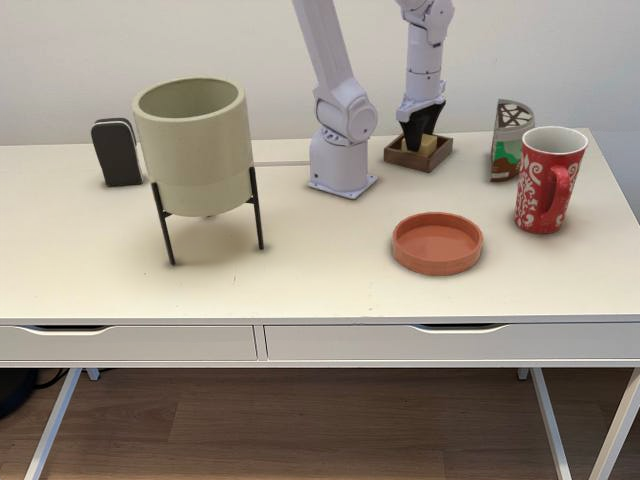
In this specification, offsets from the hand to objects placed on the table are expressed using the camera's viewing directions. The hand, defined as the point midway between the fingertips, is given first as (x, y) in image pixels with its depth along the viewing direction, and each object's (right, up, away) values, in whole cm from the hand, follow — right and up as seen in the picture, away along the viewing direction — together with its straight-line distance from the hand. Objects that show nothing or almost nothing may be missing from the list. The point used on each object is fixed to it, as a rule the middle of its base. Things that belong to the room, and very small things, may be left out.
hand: (418, 145), depth 119 cm
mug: (+16, -18, -17) cm, 30 cm away
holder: (0, -2, +1) cm, 2 cm away
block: (0, -1, +1) cm, 1 cm away
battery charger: (-53, -6, +1) cm, 53 cm away
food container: (+15, -6, -4) cm, 16 cm away
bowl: (-1, -22, -20) cm, 30 cm away
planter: (-35, -20, -15) cm, 43 cm away
